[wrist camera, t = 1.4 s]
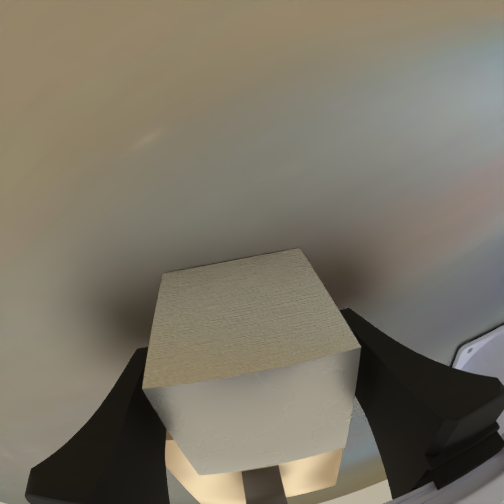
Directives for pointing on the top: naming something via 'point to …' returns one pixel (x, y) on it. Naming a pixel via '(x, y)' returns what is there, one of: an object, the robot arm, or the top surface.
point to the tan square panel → (255, 478)
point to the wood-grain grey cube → (251, 363)
